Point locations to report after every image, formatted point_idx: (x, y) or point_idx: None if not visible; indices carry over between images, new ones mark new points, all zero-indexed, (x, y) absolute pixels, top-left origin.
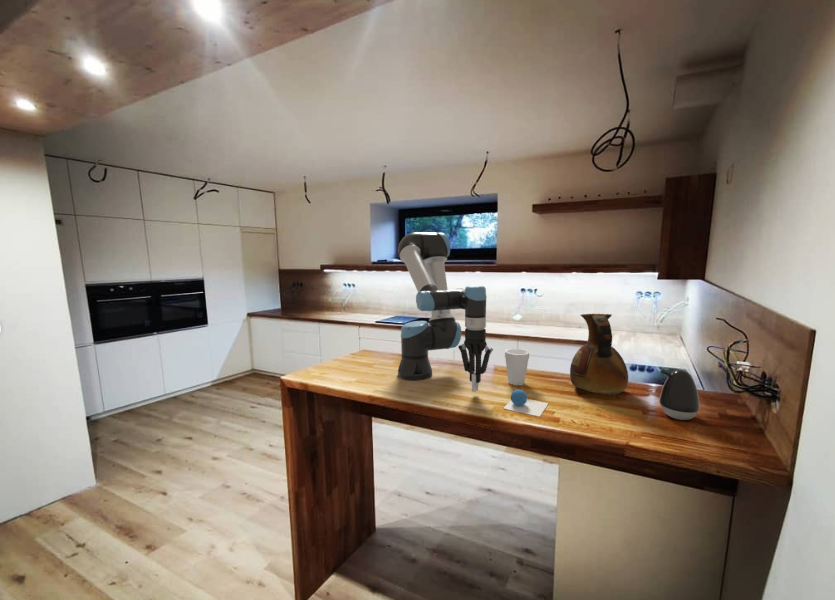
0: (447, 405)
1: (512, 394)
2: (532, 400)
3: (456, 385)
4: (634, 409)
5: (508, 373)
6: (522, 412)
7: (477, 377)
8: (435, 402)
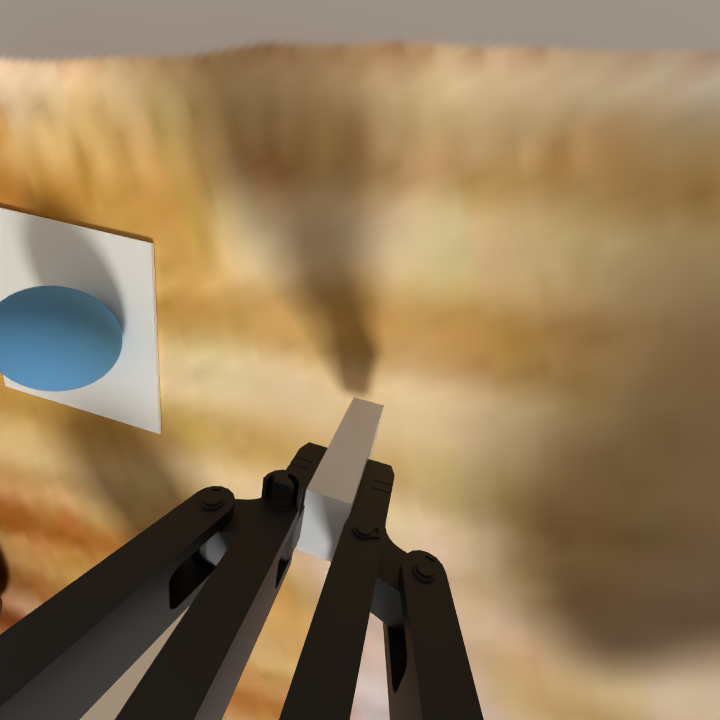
0: (553, 142)
1: (56, 323)
2: (71, 402)
3: (530, 543)
4: None
5: None
6: (45, 219)
7: (301, 478)
8: (689, 167)
